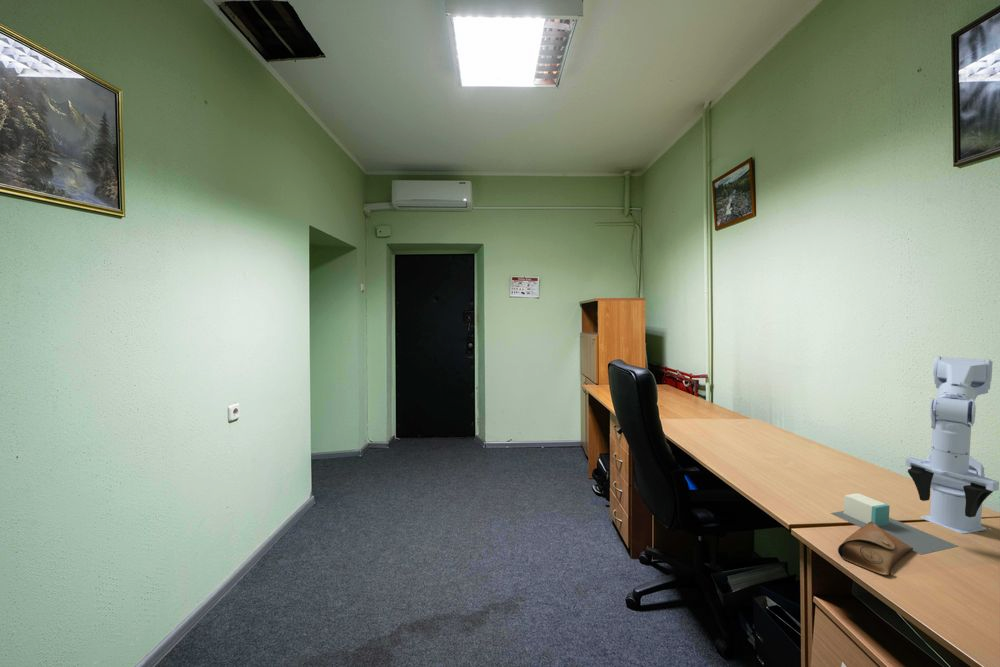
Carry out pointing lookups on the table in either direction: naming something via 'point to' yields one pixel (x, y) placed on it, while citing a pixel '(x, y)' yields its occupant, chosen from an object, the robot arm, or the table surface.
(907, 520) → the table surface
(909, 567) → the table surface
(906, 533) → the rubber mat
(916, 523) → the table surface
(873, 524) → the sunglasses case
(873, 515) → the cream block
